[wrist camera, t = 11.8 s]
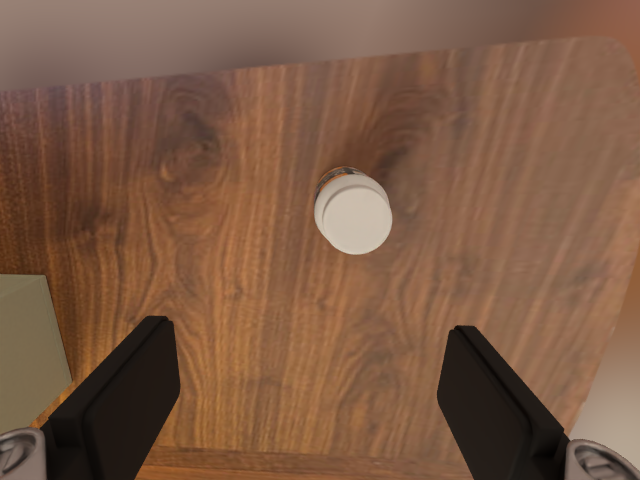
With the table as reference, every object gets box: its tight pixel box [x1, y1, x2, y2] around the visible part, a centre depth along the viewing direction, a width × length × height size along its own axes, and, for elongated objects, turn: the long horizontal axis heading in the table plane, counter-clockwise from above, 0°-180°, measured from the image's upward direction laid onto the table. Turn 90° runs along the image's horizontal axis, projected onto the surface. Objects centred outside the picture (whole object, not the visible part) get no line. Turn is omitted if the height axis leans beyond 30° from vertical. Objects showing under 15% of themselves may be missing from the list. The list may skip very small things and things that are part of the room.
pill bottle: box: [314, 166, 392, 254], centre depth 25 cm, size 6×6×10 cm
